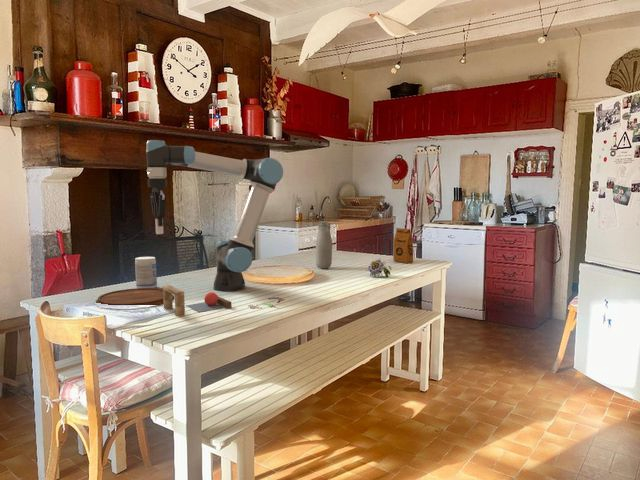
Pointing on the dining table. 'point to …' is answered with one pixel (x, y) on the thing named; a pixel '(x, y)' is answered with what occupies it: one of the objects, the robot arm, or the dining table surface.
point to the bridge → (178, 298)
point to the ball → (211, 299)
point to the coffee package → (403, 246)
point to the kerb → (224, 303)
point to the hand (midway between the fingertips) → (159, 233)
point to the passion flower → (378, 268)
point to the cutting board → (133, 297)
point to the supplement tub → (146, 272)
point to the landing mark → (204, 307)
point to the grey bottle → (324, 246)
